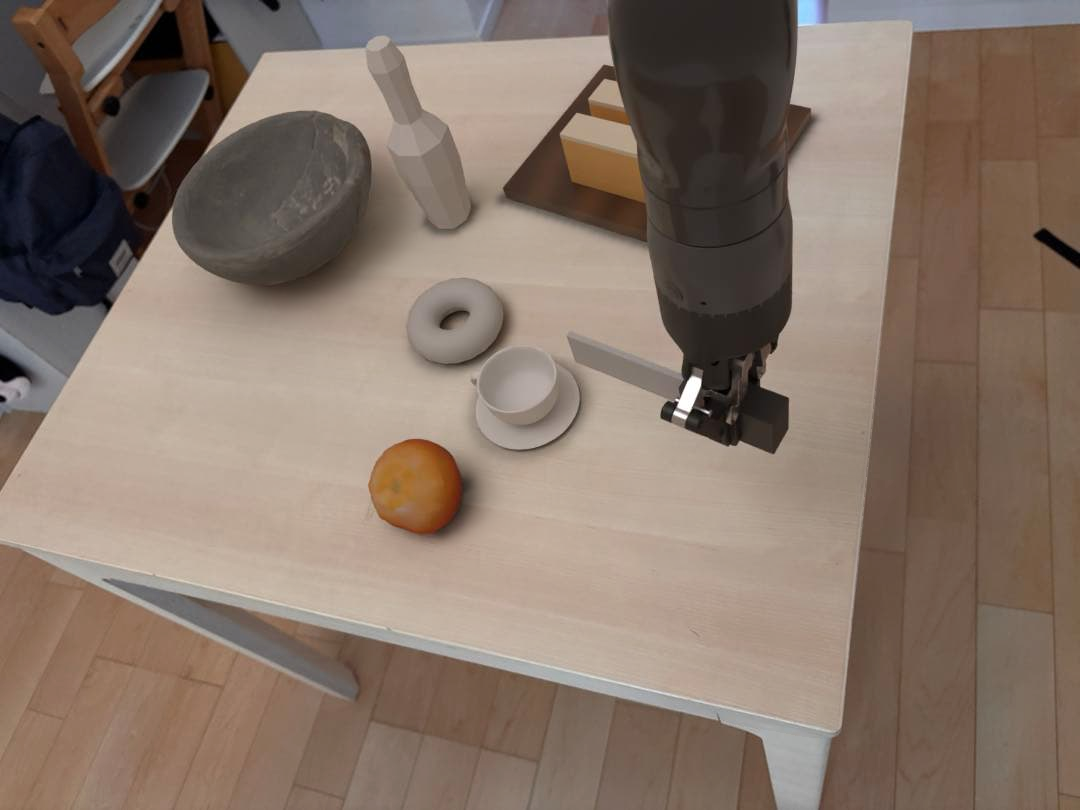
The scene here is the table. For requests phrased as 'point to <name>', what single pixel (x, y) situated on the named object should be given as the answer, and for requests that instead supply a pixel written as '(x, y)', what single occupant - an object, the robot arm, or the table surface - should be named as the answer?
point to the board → (553, 190)
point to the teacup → (524, 397)
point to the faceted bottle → (419, 141)
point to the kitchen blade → (758, 409)
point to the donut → (464, 338)
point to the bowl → (274, 198)
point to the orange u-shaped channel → (603, 146)
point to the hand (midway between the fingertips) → (735, 420)
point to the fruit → (416, 486)
